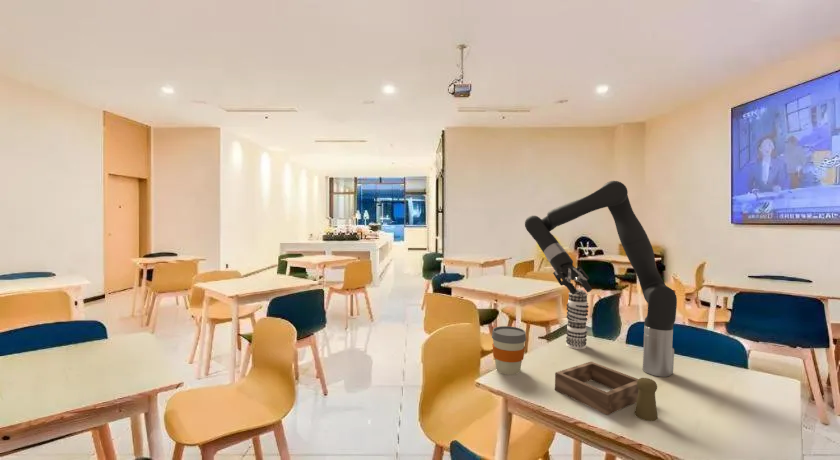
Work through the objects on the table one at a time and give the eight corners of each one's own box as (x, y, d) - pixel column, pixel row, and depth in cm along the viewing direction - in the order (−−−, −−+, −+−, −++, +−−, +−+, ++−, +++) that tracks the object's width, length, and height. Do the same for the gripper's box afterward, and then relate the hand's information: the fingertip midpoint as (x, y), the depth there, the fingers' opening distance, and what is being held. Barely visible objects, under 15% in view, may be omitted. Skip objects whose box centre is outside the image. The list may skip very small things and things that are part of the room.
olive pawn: (660, 422, 116) (662, 384, 115) (638, 419, 117) (639, 382, 117) (653, 411, 122) (654, 376, 121) (631, 409, 123) (632, 374, 122)
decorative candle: (589, 345, 181) (591, 290, 179) (583, 350, 173) (585, 293, 172) (569, 340, 186) (571, 287, 185) (562, 346, 179) (564, 290, 178)
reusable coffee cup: (531, 369, 153) (532, 330, 152) (514, 380, 143) (515, 338, 143) (502, 361, 161) (503, 324, 160) (484, 370, 152) (485, 330, 151)
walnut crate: (590, 377, 146) (590, 361, 146) (643, 399, 130) (644, 381, 129) (554, 389, 136) (555, 372, 136) (607, 415, 120) (608, 395, 119)
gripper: (551, 252, 150) (576, 288, 141) (575, 250, 158) (601, 284, 149) (539, 264, 155) (563, 300, 146) (564, 262, 163) (588, 295, 154)
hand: (582, 292), depth 147 cm, fingers open, 8 cm apart
